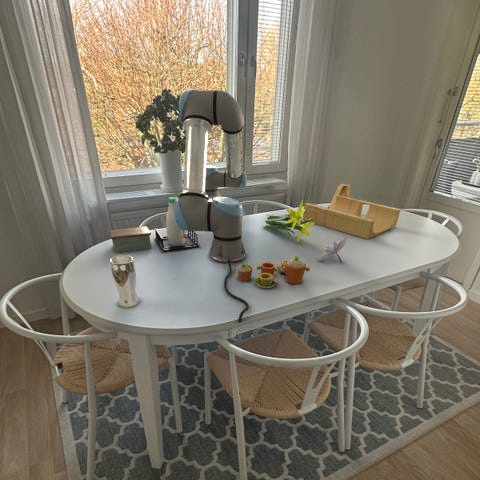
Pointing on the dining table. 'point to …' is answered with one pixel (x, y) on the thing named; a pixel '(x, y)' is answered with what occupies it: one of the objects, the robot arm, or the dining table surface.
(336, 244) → the water lily
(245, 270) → the toy tea set
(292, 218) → the daffodil flowers
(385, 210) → the skate ramp
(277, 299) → the dining table surface
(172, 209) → the milk bottle
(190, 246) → the dish rack
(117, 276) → the beer glass
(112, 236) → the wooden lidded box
